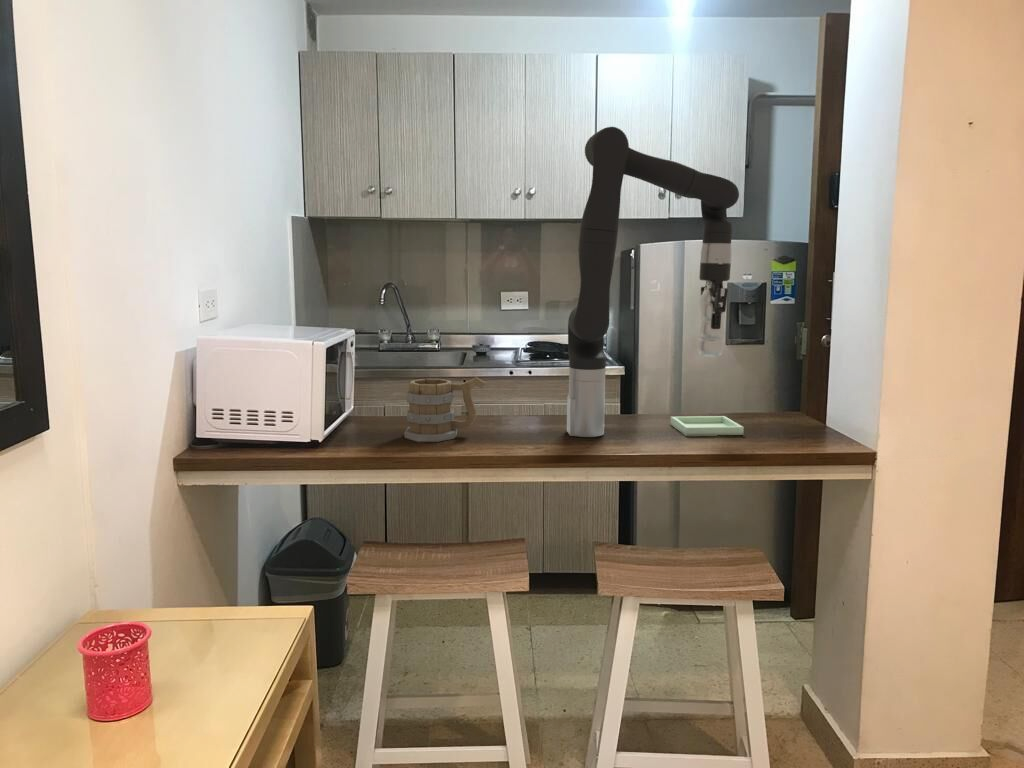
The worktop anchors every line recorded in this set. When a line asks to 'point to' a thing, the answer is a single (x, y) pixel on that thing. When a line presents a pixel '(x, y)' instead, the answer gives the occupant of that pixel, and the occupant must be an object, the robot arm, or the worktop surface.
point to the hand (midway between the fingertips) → (711, 327)
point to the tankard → (437, 409)
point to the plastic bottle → (709, 328)
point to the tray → (706, 426)
